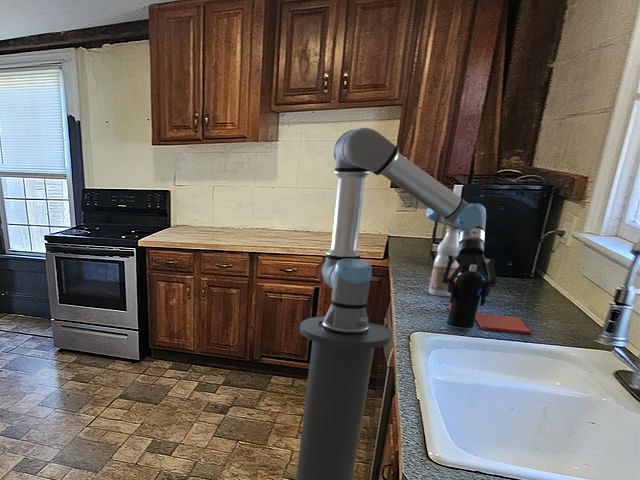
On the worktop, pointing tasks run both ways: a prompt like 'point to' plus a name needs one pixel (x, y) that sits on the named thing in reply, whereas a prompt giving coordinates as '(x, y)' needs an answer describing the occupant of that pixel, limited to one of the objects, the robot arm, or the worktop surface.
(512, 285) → the worktop surface
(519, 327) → the pad
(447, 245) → the fruit juice
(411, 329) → the worktop surface
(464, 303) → the aerosol can
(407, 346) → the worktop surface
